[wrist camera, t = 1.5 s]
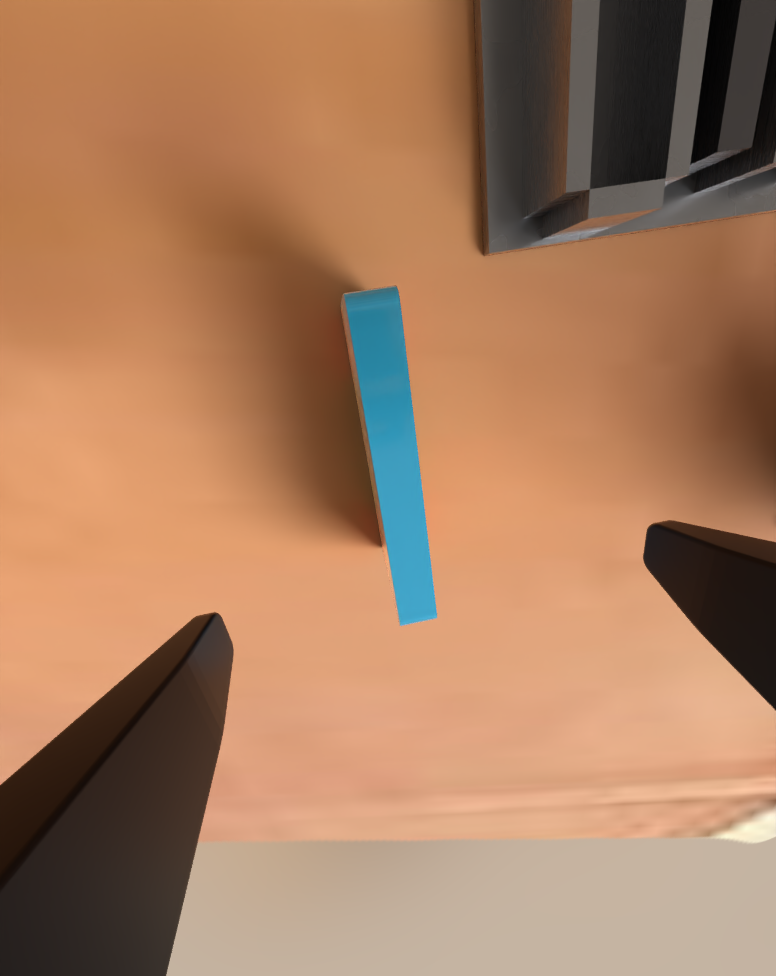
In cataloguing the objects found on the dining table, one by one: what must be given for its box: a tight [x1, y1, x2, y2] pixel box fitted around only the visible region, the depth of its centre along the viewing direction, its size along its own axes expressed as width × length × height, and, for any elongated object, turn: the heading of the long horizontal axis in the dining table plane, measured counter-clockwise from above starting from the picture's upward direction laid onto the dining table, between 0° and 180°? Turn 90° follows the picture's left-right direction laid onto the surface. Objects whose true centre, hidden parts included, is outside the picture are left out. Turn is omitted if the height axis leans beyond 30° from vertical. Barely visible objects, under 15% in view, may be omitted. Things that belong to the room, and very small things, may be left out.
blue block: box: [340, 285, 437, 626], centre depth 15 cm, size 12×2×6 cm, turn 8°
